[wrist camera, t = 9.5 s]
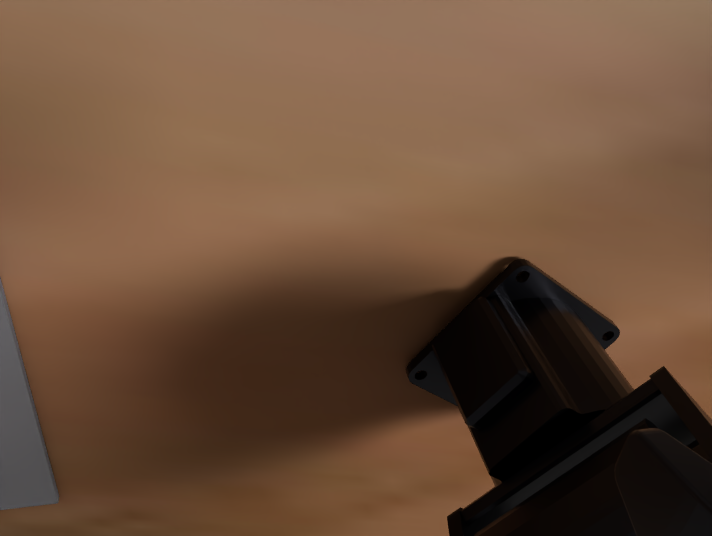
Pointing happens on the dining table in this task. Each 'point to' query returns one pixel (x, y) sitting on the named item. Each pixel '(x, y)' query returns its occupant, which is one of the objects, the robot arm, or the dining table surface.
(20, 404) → the charcoal mat
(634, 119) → the dining table surface
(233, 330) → the dining table surface
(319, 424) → the dining table surface
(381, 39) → the dining table surface
